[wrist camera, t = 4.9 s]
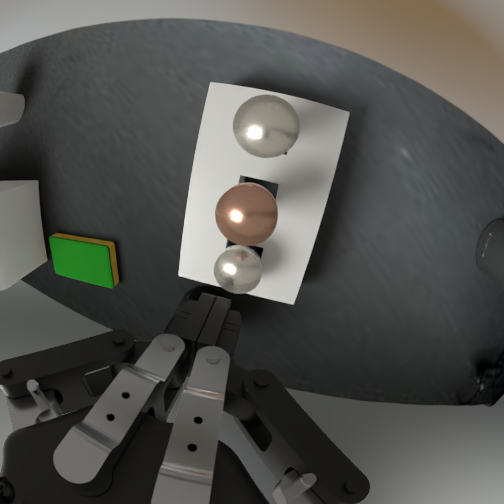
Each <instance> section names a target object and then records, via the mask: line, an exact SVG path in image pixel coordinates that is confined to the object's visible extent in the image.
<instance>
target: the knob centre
mask: <svg viewBox="0 0 504 504" xmlns="http://www.w3.org/2000/svg"><path fill="white" fill-rule="evenodd" d="M215 219H216V223H217V226H218V228H219V230H220V232H221V233H222V234H223V235H224V236H225V237H226V238H227V239H228V240H229V241H231V242H233V243H235V244H238V245H242V246H253V245H257V244H260V243H262V242H264V241H265V240H266V239H268V238H269V237H270V236H271V235H272V233H273V232H274V230H275V228H276V225H277V219H278V206H277V203H276V200H275V198H274V196H273V195H272V194H271V192H270V191H269V190H267V189H266V188H265V187H263V186H261V185H259V184H256V183H248V182H246V183H240V184H237V185H235V186H233V187H232V188H230V189H229V190H228V191H226V192H225V193H224V194H223V195H222V196H221V198H220V199H219V201H218V203H217V206H216V210H215Z"/></svg>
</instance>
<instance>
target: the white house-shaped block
mask: <svg viewBox="0 0 504 504" xmlns="http://www.w3.org/2000/svg"><path fill="white" fill-rule="evenodd" d="M46 261H48V260H47V254H46V249H45V243H44V236H43V229H42V221H41V212H40V201H39V186H38V180H17V181H0V291H1V290H4V289H7V288H9V287H10V286H12V285H13V284H14V283H16V282H17V281H18V280H20V279H21V278H23V277H24V276H26V275H27V274H28V273H30V272H31V271H33V270H34V269H36V268H37V267H39V266H40V265H42V264H43V263H45V262H46Z"/></svg>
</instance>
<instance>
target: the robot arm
mask: <svg viewBox="0 0 504 504" xmlns="http://www.w3.org/2000/svg"><path fill="white" fill-rule="evenodd" d="M476 259H477V264H478V267H479V268H480V270H481V271H482V272H483V273H485V274H486V275H487V276H488V277H489V278H490V279H491V280H492V281H493V282H494V283H495V284H497V285H498V286H499V287H500V288H501V289H502V290H503V291H504V220H501V219H498V220H494V221H492V222H491V223H490V224H489V225H488V226H487V227H486V228H485V230H484V231H483V233H482V235H481V237H480V239H479V243H478V246H477V253H476ZM231 301H232V300H231V299H227V298H223V297H219V296H214V295H210V294H206V293H202V294H201V296H200V298H199V300H198V301H194V300H189V301H187V302H186V303H184V304H183V305H182V307H181V308H180V310H179V312H178V313H177V315H176V317H175V318H174V320H173V321H172V323H171V325H170V326H169V328H168V330H167V331H166V333H165V334H162V335H159V336H157V337H156V338H155V339H154V340H153V341H152V342H138V341H134V337H133V336H132V334H130V333H129V332H127V331H124V330H114V331H110V332H107V333H103V334H100V335H96V336H93V337H90V338H87V339H83V340H79V341H76V342H72V343H69V344H65V345H61V346H57V347H54V348H50V349H47V350H43V351H39V352H35V353H31V354H28V355H23V356H19V357H15V358H11V359H7V360H3V361H1V362H0V388H1V389H2V391H3V393H4V395H5V396H6V398H7V404H8V409H9V413H10V418H11V422H12V426H13V429H14V432H12V433H11V434H10V435H9V436H8V438H7V439H6V441H5V444H4V447H3V464H2V469H1V473H0V504H269V502H268V501H267V500H266V498H265V497H264V495H263V494H262V493H261V491H260V490H259V488H258V487H257V485H256V484H255V482H254V481H253V479H252V478H251V476H250V475H249V473H248V471H247V470H246V468H245V467H244V465H243V464H242V462H241V461H240V459H239V458H238V456H237V455H236V454H235V452H234V451H233V450H232V449H231V448H229V447H228V446H227V445H226V444H224V443H223V442H221V441H220V440H218V438H219V431H220V425H221V418H222V412H223V411H225V412H227V413H229V414H231V415H233V416H234V420H235V422H236V423H237V424H238V426H239V428H240V429H241V431H242V432H243V434H244V435H245V437H246V438H247V440H248V441H249V443H250V444H251V445H252V447H253V448H254V450H255V451H256V452H257V454H258V455H259V457H260V458H261V459H262V461H263V462H264V463H265V465H266V466H267V467H268V469H269V470H270V471H271V473H272V474H273V475H274V476H275V478H276V479H277V480H278V483H277V484H276V485H275V486H274V488H273V497H274V499H275V501H276V503H277V504H357V503H358V502H360V501H362V500H363V499H364V498H366V496H367V495H368V493H369V490H370V484H369V480H368V479H367V477H366V476H365V475H364V474H363V473H362V472H361V471H360V470H359V469H358V468H357V467H356V466H355V465H354V464H353V463H352V462H351V461H350V460H349V459H348V458H347V457H346V456H345V455H344V454H343V453H342V452H341V450H340V449H338V447H337V446H336V445H335V444H334V443H333V442H332V441H331V440H330V439H329V438H328V437H327V436H326V434H325V433H324V432H322V430H321V429H320V428H319V427H318V426H317V425H316V423H315V422H314V421H313V420H312V419H311V418H310V417H309V416H308V414H307V413H306V412H305V411H304V410H303V409H302V408H301V406H300V405H299V404H298V403H297V402H296V401H295V400H294V398H293V397H292V396H291V395H290V394H289V393H288V391H287V390H286V389H285V388H284V387H283V385H282V384H281V383H280V382H279V381H278V379H277V378H276V377H275V376H274V375H273V374H272V373H270V372H268V371H265V370H260V369H257V370H252V371H249V372H247V371H245V370H243V369H242V368H240V367H239V366H238V365H237V364H236V363H235V362H234V360H233V355H234V351H235V347H236V343H237V339H238V334H239V330H240V325H241V320H242V318H241V315H240V312H239V311H235V310H230V307H231ZM107 366H109V368H106V369H103V370H100V371H97V372H94V373H91V374H88V375H85V374H86V373H88V372H91V371H94V370H97V369H101V368H104V367H107ZM187 375H189V376H190V378H189V382H188V385H187V388H185V389H184V391H183V394H182V397H181V401H180V404H179V407H178V411H177V414H176V418H175V421H174V423H168V422H167V418H168V416H169V414H170V412H171V410H172V408H173V406H174V404H175V402H176V400H177V399H178V396H179V395H180V393H181V391H182V388H183V386H184V382H185V379H186V377H187ZM78 409H79V410H78ZM75 410H76V411H75ZM72 411H73V412H72ZM69 412H71V413H69ZM65 413H68V414H65ZM62 414H65V415H62Z"/></svg>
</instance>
